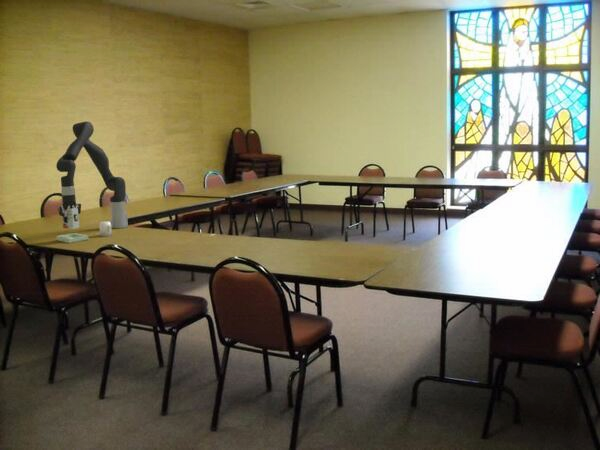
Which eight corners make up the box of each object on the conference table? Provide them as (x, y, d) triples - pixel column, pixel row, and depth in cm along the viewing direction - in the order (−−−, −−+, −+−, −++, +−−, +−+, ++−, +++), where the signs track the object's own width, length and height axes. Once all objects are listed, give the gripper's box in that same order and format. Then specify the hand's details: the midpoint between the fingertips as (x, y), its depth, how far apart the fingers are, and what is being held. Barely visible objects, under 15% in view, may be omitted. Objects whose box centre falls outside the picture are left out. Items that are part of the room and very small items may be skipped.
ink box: (62, 228, 385) (61, 208, 383) (69, 226, 389) (67, 207, 387) (73, 229, 381) (71, 209, 379) (79, 227, 385) (78, 208, 383)
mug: (108, 233, 405) (107, 221, 403) (116, 235, 398) (115, 222, 397) (97, 235, 400) (96, 222, 398) (105, 237, 393) (104, 224, 392)
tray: (75, 237, 396) (74, 233, 395) (88, 240, 385) (87, 235, 385) (56, 240, 387) (56, 235, 387) (69, 243, 377) (69, 238, 376)
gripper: (76, 192, 389) (79, 220, 392) (53, 194, 379) (56, 223, 382) (82, 193, 384) (85, 221, 387) (59, 195, 374) (62, 224, 377)
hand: (70, 222), depth 384 cm, fingers closed on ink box, 5 cm apart
